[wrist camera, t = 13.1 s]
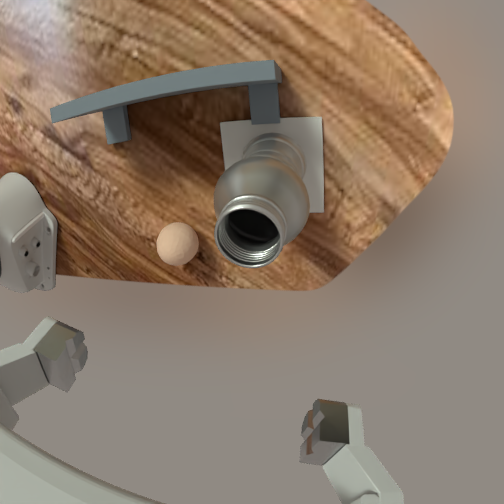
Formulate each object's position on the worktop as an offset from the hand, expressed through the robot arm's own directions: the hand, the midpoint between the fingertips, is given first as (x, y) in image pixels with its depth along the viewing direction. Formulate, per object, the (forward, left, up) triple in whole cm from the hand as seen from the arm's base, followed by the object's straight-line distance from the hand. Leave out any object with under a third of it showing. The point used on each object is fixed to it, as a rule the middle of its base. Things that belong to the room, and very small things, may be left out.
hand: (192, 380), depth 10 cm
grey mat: (0, 0, -29) cm, 29 cm away
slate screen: (+5, +11, -29) cm, 31 cm away
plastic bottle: (+1, 0, -29) cm, 29 cm away
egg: (-11, +9, -29) cm, 33 cm away
